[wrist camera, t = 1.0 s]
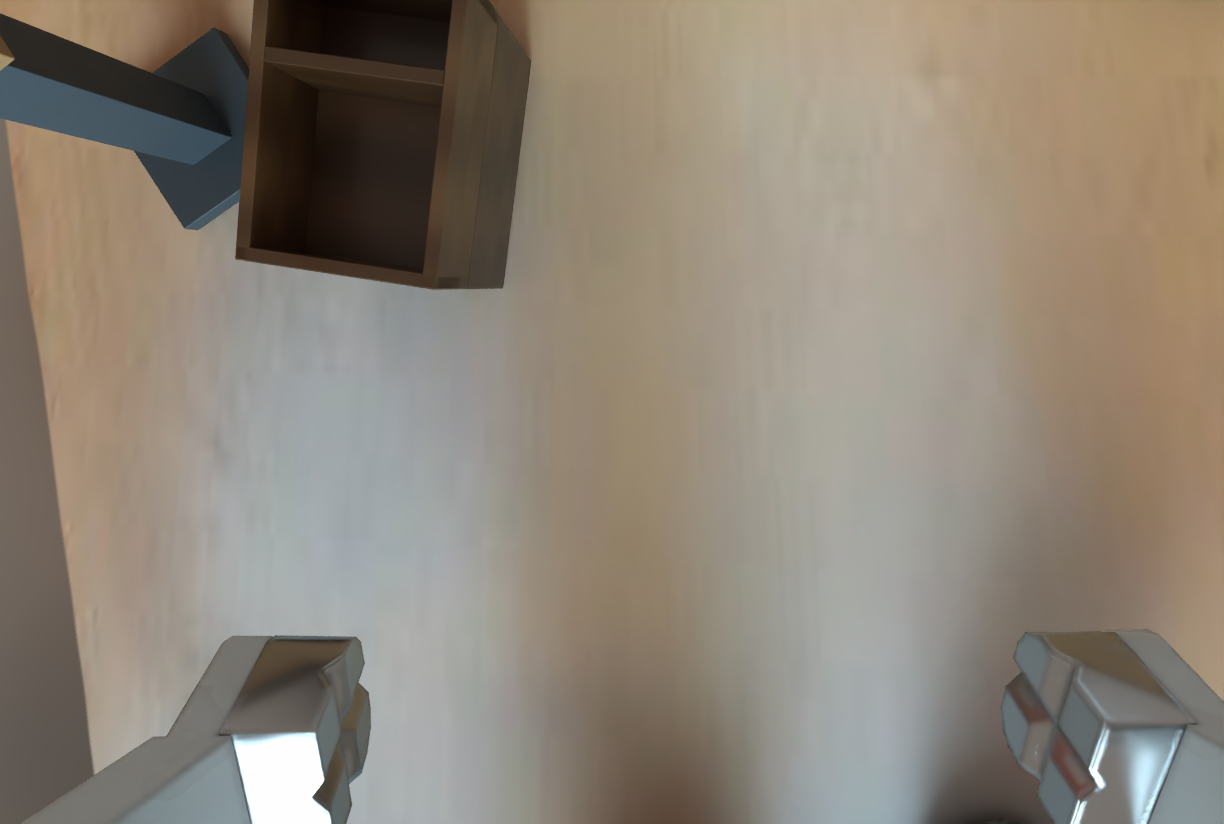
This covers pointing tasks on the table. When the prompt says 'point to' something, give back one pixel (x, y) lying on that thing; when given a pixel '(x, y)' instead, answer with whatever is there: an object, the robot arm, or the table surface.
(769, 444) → the table surface
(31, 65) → the stand
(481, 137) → the caddy
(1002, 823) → the lantern
